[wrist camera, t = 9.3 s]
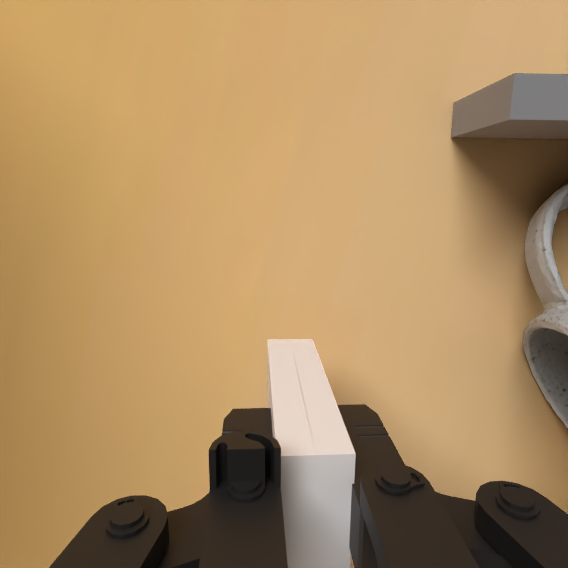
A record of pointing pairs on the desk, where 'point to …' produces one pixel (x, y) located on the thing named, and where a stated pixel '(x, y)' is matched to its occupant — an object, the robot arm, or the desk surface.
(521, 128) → the grey c-shaped bracket
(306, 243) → the desk surface
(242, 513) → the robot arm
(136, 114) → the desk surface
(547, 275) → the ceramic mug
